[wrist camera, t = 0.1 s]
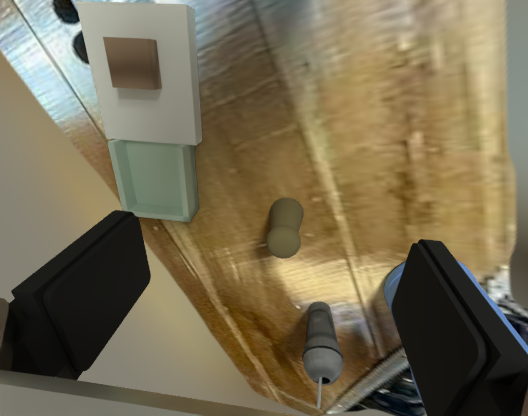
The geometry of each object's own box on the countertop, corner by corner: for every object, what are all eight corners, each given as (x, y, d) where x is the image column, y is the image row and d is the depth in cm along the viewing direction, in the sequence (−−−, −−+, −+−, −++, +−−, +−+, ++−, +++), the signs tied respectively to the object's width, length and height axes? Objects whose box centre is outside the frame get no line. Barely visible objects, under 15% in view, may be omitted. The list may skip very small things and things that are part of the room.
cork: (271, 195, 49) (263, 228, 40) (305, 199, 49) (305, 233, 39) (269, 224, 52) (260, 262, 42) (301, 228, 52) (300, 267, 42)
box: (125, 134, 47) (107, 142, 43) (193, 139, 46) (182, 148, 42) (138, 202, 54) (123, 215, 49) (198, 208, 52) (189, 222, 48)
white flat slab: (91, 5, 39) (75, 1, 36) (194, 8, 38) (186, 4, 35) (117, 134, 48) (106, 138, 45) (202, 140, 46) (196, 145, 44)
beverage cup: (327, 325, 62) (337, 428, 45) (297, 314, 62) (294, 414, 44) (342, 303, 59) (358, 406, 41) (310, 292, 59) (313, 391, 41)
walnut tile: (114, 38, 38) (102, 36, 36) (156, 40, 37) (147, 38, 35) (123, 86, 41) (112, 87, 39) (162, 88, 40) (153, 89, 38)
